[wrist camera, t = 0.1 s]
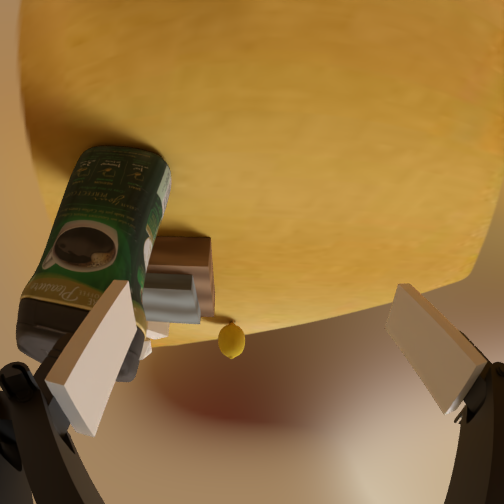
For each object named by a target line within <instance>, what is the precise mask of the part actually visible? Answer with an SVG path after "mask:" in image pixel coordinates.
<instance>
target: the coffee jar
mask: <svg viewBox="0 0 504 504" xmlns="http://www.w3.org/2000/svg"><path fill="white" fill-rule="evenodd" d="M170 189H171V172H170V168H169V166H168V165H167V163H166V162H165V161H164V160H163V159H162V158H161V157H160V156H159V155H157V154H155V153H152V152H149V151H145V150H141V149H135V148H130V147H120V146H96V147H92V148H90V149H88V150H86V151H85V152H84V153H83V154H82V155H81V156H80V158H79V160H78V162H77V164H76V166H75V168H74V170H73V172H72V175H71V177H70V180H69V182H68V185H67V187H66V190H65V193H64V196H63V199H62V201H61V204H60V207H59V210H58V213H57V216H56V218H55V221H54V224H53V227H52V230H51V233H50V236H49V239H48V242H47V245H46V248H45V250H44V253H43V256H42V258H41V261H40V263H39V265H38V267H37V269H36V271H35V273H34V275H33V276H32V278H31V279H30V281H29V282H28V284H27V285H26V287H25V288H24V290H23V292H22V295H21V298H20V304H19V311H18V320H17V325H16V340H17V346H18V349H19V350H20V351H21V352H23V353H24V354H26V355H27V356H29V357H31V358H33V359H35V360H36V361H38V362H40V363H42V362H43V361H44V359H45V358H46V357H47V356H48V353H49V352H50V350H52V348H53V346H54V345H55V343H56V342H57V340H58V339H60V338H61V337H62V336H64V335H65V334H66V333H72V334H74V333H75V332H76V331H77V329H78V328H79V326H80V325H81V323H82V322H83V321H84V319H85V318H86V316H87V315H88V314H89V312H90V311H91V309H92V308H93V307H94V305H95V304H96V303H97V301H98V300H99V299H100V297H101V296H102V295H103V293H104V292H105V291H106V289H107V288H108V287H109V286H110V284H111V283H112V282H113V280H126V281H129V287H130V293H131V299H132V305H133V311H134V316H135V321H136V327H137V331H136V333H135V335H134V338H133V340H132V342H131V344H130V347H129V349H128V351H127V354H126V356H125V358H124V361H123V363H122V366H121V368H120V370H119V373H118V375H117V378H116V380H115V381H118V382H130V381H132V380H133V379H134V378H135V375H136V373H137V369H138V365H139V359H140V356H141V352H142V348H143V344H144V340H145V338H146V332H147V322H146V316H145V312H144V308H143V302H142V295H143V287H144V281H145V276H146V271H147V266H148V262H149V258H150V255H151V251H152V248H153V244H154V241H155V238H156V235H157V232H158V229H159V226H160V224H161V221H162V218H163V215H164V212H165V209H166V205H167V201H168V197H169V193H170Z"/></svg>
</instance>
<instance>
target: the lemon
mask: <svg viewBox="0 0 504 504" xmlns="http://www.w3.org/2000/svg"><path fill="white" fill-rule="evenodd" d="M218 344H219V348H220V350H221V352H222V353H223V354H224V355H225V356H227V357H229V358H230V359H233V358H234V357H236V356H238V355H240V354H241V353H242V351H243V349H244V345H245V336H244V333H243V331H242V329H241V328H240V327H238V326H236V325H235V324H234V323H232V322H231V323H229V324H228V325H226V326H225V327H223V328H222V329H221V331H220V333H219V337H218Z"/></svg>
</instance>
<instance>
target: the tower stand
mask: <svg viewBox="0 0 504 504" xmlns="http://www.w3.org/2000/svg"><path fill="white" fill-rule="evenodd" d="M142 302H143V308H144V312H145V316H146V321H155V322H169V323H187V324H200V317H214V307H215V289H214V277H213V264H212V250H211V238H202V237H156V238H155V241H154V244H153V248H152V251H151V255H150V258H149V262H148V266H147V271H146V276H145V281H144V287H143V295H142Z"/></svg>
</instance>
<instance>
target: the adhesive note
mask: <svg viewBox="0 0 504 504" xmlns="http://www.w3.org/2000/svg"><path fill="white" fill-rule="evenodd" d="M146 322H147V332H146V337H148V338H151V339H159V338H163V337H168V334H169V322H155V321H146Z"/></svg>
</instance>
